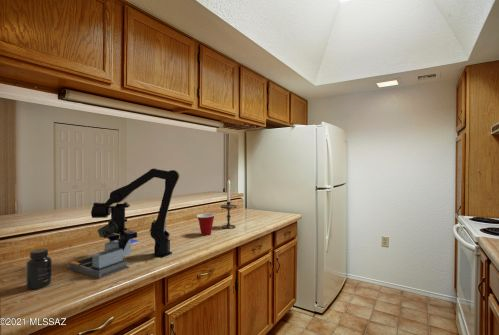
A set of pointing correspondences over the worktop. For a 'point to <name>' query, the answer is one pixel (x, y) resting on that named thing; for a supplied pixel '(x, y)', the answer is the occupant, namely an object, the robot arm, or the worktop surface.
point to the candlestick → (228, 208)
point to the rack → (101, 263)
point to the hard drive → (134, 241)
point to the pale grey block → (116, 244)
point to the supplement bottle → (38, 269)
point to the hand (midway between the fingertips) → (118, 252)
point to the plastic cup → (206, 223)
